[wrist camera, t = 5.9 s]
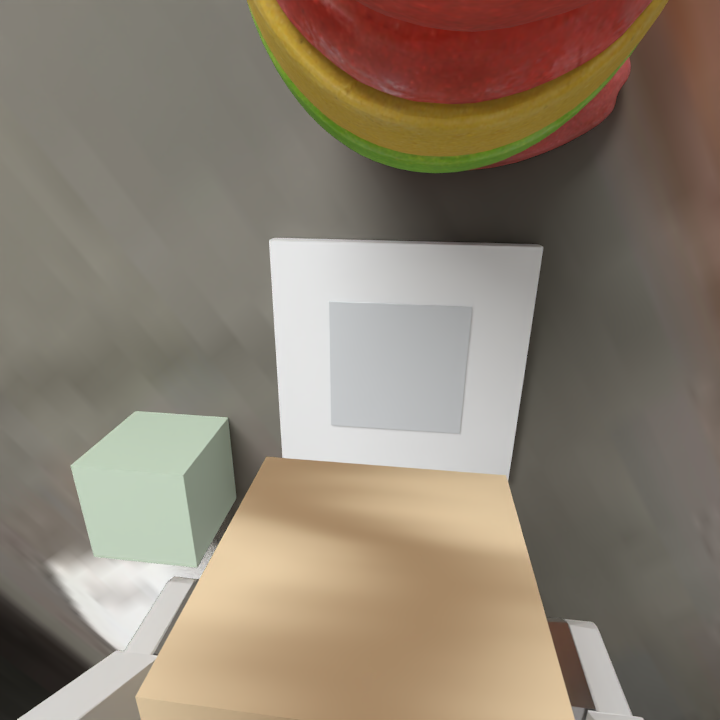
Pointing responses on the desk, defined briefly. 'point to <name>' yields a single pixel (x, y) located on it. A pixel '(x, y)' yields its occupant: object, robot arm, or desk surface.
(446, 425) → the plate
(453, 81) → the stacking bear
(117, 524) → the sage block
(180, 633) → the oak block
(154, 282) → the desk surface
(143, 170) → the desk surface
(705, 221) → the desk surface
